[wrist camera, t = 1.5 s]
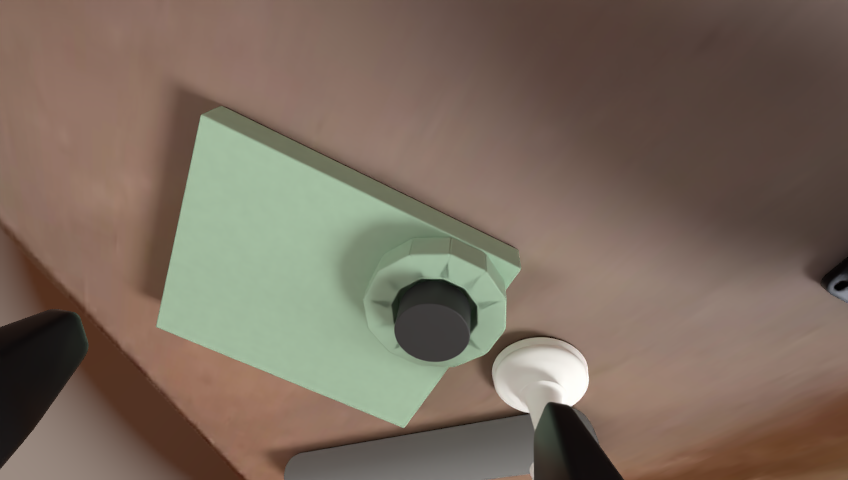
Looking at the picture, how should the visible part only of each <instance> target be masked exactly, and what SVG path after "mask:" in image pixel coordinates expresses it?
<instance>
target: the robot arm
mask: <svg viewBox="0 0 848 480" xmlns="http://www.w3.org/2000/svg"><path fill="white" fill-rule="evenodd" d="M838 282H840V283H838ZM836 283H838V284H836ZM821 286H822V287H823V288H824V289H825V290H826V291H828V292H829V293H830V294H831V295H833V296H835V297H837V298H839V299H841V300H843V301H845V302H846V303H848V257H847V258H846V259H845V260H844V261H842V262H841V263H840V264H839V265H837V266H836V267H835V268H834V269H833V270H831V271H830V272H829V273H828V274H827V275H825V277H824V278H823V279H822V281H821ZM87 351H88V341H87V338H86V334H85V331H84V328H83V325H82V322H81V319H80V317H79V315H78V314H77V313H75V312H71V311H65V310H59V309H51V310H47V311H44V312H42V313H39V314H36V315H33V316H30V317H27V318H25V319H22V320H19V321H16V322H13V323H11V324H8V325H5V326H2V327H0V469H1V468H2V466H3V465H4V464H5V463H6V462H7V461H8V459H9V458H10V457H11V456H12V455H13V453H14V452H15V451H16V450H17V449H18V447H19V446H20V445H21V444H22V443H23V442H24V440H25V439H26V438H27V437H28V435H29V434H30V433H31V432H32V430H33V429H34V428H35V426H36V425H37V424H38V422H39V421H40V420H41V418H42V417H43V416H44V414H45V413H46V411H47V410H48V409H49V407H50V405H51V404H52V403H53V401H54V400H55V399H56V397H57V396H58V394H59V393H60V391H61V390H62V389H63V387H64V386H65V384H66V383H67V381H68V380H69V379H70V377H71V376H72V375H73V373H74V372H75V370H76V369H77V367H78V366H79V365H80V363H81V362H82V360H83V359H84V357H85V356H86V354H87ZM534 480H624V479H623V478H622V476H621V475H620V474H619V472H618V471H617V469H616V468H615V467H614V465H613V464H612V462H611V461H610V460H609V458H608V457H607V455H606V454H605V453H604V451H603V450H602V449H601V447H600V446H599V444H598V443H597V442H596V440H595V439H594V437H593V436H592V435H591V433H590V432H589V430H588V429H587V428H586V426H585V425H584V423H583V422H582V421H581V419H580V418H579V416H578V415H577V414H576V412H575V411H574V410H573V408H572V407H570V406H569V405H566V404H561V403H555V402H548V403H547V404H546V405H545V407H544V410H543V412H542V415H541V417H540V419H539V422H538V424H537V427H536V429H535V433H534Z"/></svg>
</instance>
